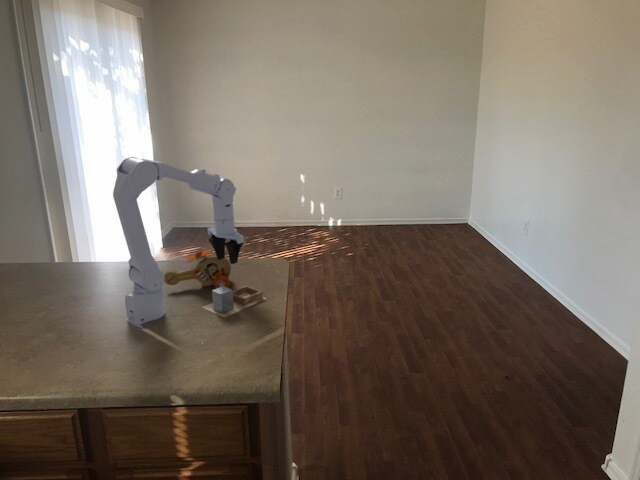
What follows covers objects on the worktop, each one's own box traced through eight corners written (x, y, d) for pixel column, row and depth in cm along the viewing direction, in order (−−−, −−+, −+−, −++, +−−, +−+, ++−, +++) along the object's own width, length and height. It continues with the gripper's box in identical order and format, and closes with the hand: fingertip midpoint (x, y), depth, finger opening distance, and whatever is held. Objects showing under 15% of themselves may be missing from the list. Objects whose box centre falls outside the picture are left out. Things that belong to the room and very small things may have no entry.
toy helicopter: (234, 288, 159) (224, 252, 151) (168, 301, 157) (155, 266, 150) (234, 273, 166) (224, 238, 158) (170, 286, 164) (158, 251, 157)
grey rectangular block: (222, 314, 141) (221, 294, 139) (213, 309, 144) (212, 290, 142) (233, 309, 144) (232, 289, 142) (224, 305, 147) (223, 286, 145)
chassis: (224, 320, 140) (223, 310, 139) (202, 310, 146) (201, 300, 145) (267, 301, 151) (266, 292, 150) (244, 292, 157) (244, 283, 156)
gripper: (250, 219, 149) (253, 262, 153) (219, 211, 158) (222, 252, 162) (232, 224, 144) (235, 269, 148) (200, 216, 153) (204, 258, 157)
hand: (227, 260), depth 155 cm, fingers open, 5 cm apart
